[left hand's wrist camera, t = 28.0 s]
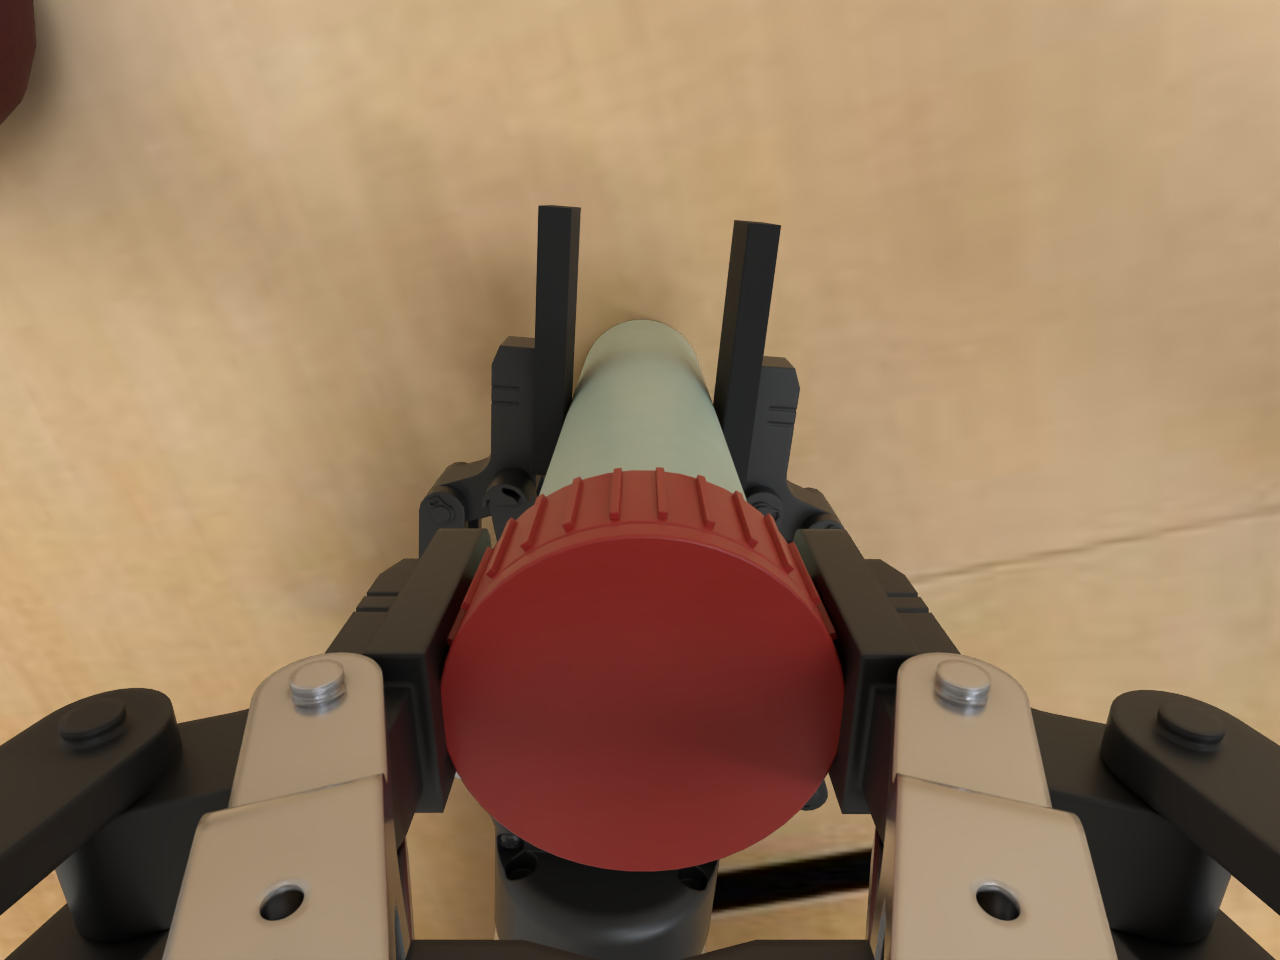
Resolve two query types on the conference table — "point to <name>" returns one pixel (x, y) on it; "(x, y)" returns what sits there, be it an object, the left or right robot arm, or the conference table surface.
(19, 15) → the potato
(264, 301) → the conference table surface
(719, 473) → the pale green bottle
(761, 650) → the lid
